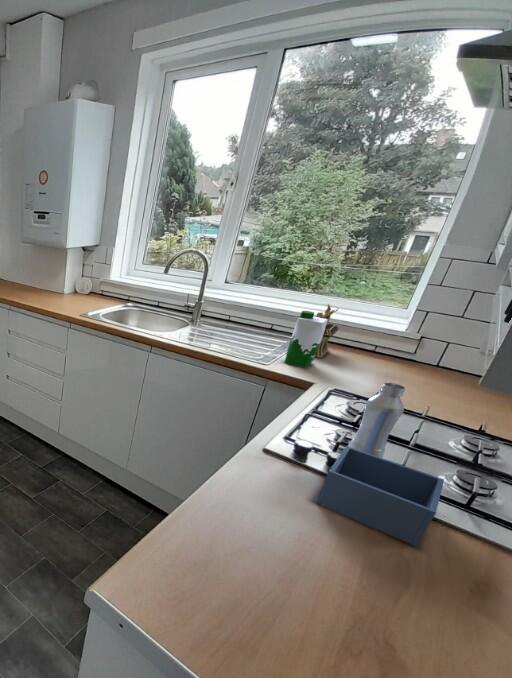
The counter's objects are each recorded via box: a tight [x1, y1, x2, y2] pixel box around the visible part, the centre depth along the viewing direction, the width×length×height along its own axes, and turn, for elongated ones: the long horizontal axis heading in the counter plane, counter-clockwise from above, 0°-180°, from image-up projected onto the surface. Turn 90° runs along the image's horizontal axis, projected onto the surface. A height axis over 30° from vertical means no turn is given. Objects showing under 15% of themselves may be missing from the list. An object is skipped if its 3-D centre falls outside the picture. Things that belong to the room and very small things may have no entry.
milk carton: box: [284, 310, 328, 369], centre depth 155 cm, size 9×9×20 cm
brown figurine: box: [314, 303, 340, 358], centre depth 169 cm, size 20×10×20 cm, turn 133°
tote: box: [315, 445, 445, 547], centre depth 83 cm, size 16×15×8 cm
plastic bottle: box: [347, 382, 406, 459], centre depth 96 cm, size 6×7×20 cm
